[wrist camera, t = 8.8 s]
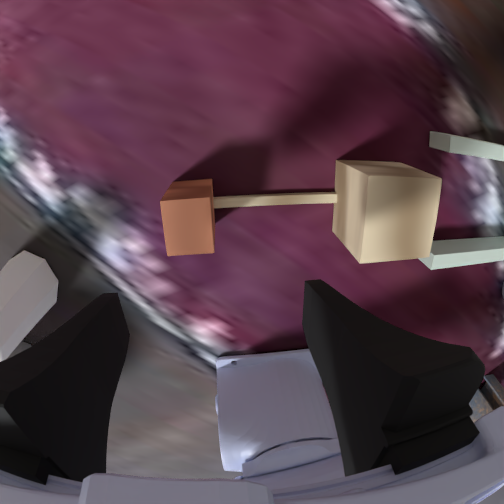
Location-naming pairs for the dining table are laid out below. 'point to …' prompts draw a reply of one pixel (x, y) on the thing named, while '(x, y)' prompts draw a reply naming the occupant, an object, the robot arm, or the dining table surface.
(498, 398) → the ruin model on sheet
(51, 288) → the pepper shaker
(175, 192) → the tethered block
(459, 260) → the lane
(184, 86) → the dining table surface
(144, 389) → the dining table surface
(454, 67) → the dining table surface
